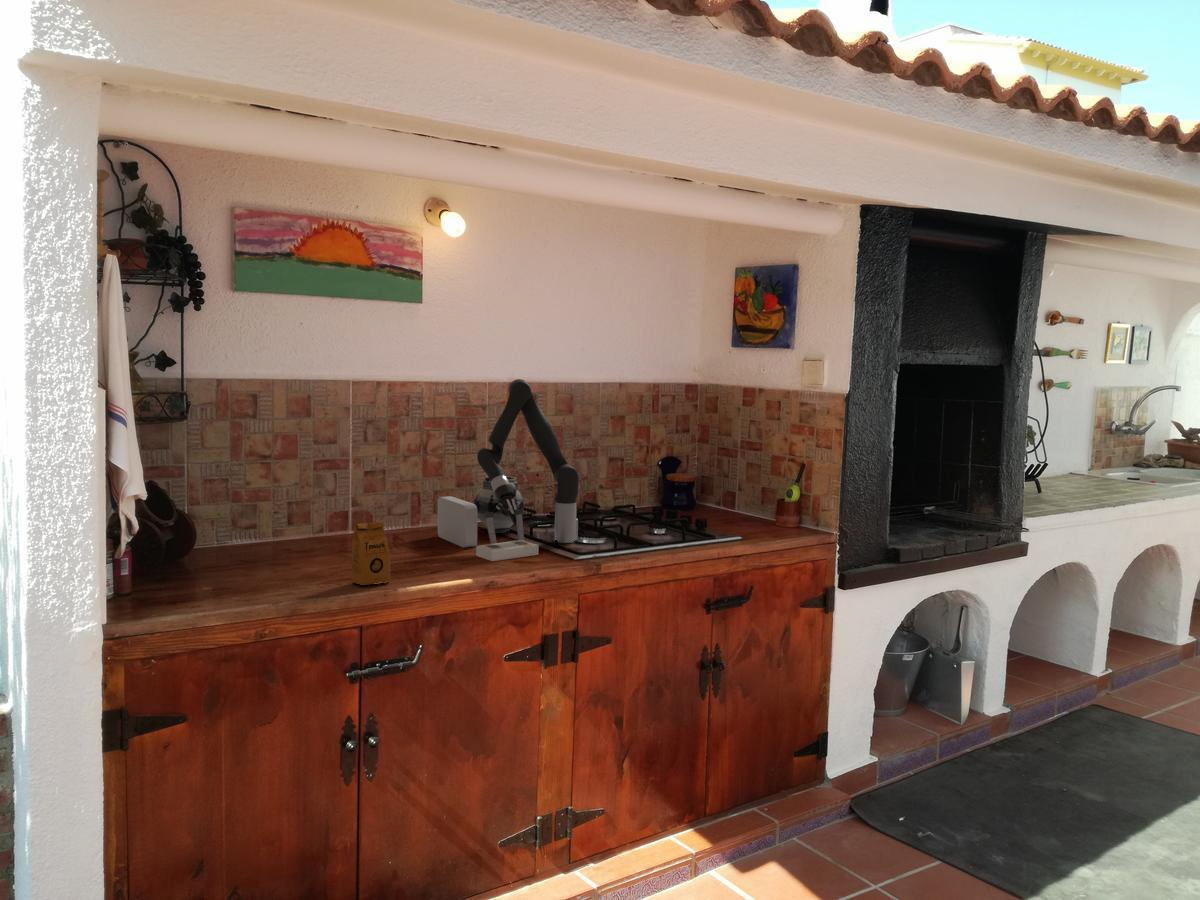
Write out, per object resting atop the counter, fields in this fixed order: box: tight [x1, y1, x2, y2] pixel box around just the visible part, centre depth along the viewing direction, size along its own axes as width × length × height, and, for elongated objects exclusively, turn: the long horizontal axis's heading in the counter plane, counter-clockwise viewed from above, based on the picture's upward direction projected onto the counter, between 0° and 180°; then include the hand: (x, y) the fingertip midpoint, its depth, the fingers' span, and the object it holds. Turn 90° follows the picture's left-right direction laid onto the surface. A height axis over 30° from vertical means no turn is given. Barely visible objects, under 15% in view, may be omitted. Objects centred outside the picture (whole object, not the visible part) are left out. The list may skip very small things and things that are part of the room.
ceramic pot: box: [473, 475, 525, 534], centre depth 438 cm, size 29×23×25 cm
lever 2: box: [514, 509, 525, 541], centre depth 393 cm, size 3×3×12 cm
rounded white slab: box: [437, 495, 478, 548], centre depth 413 cm, size 29×8×18 cm, turn 33°
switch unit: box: [475, 539, 539, 562], centre depth 389 cm, size 22×12×4 cm, turn 128°
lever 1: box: [484, 512, 498, 544], centre depth 386 cm, size 3×3×12 cm
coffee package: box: [351, 520, 391, 586], centre depth 338 cm, size 10×12×22 cm
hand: (517, 523), depth 394 cm, fingers closed
